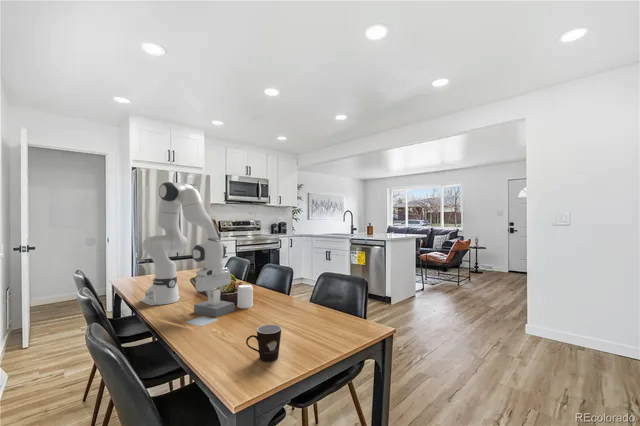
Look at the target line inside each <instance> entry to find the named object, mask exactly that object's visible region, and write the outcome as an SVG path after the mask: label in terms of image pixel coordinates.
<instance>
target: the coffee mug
mask: <svg viewBox="0 0 640 426" xmlns="http://www.w3.org/2000/svg"><path fill="white" fill-rule="evenodd" d="M281 335H282V326H280V325H277V324H264V325H260V326H258V327H257V328H256V335H255V334H251V335H249V336H248V337H247V338H246V340H245V344H246V346H247V347H248V348H250V349H251V350H253V351H255V352H257V353H258V354H259V355H258V356H259V360H260V361H261V362H264V363H273V362H275V361H276V360H278V359H279V353H280V347H281V346H280V344H281V337H282V336H281ZM251 338H255V339H256V341H257V345H258V347H257V348H258V349H257V348H254V347H253V346H250V344H249V343H248V342H249V340H250V339H251Z"/></svg>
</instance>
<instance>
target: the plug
mask: <svg viewBox="0 0 640 426" xmlns="http://www.w3.org/2000/svg"><path fill="white" fill-rule="evenodd" d="M210 293H211V294H212V298H208V297H207V301H208V304H209V305H217V304H220V300H221V295H220V290H219V289H218V288H214V289H211V291H210Z"/></svg>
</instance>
